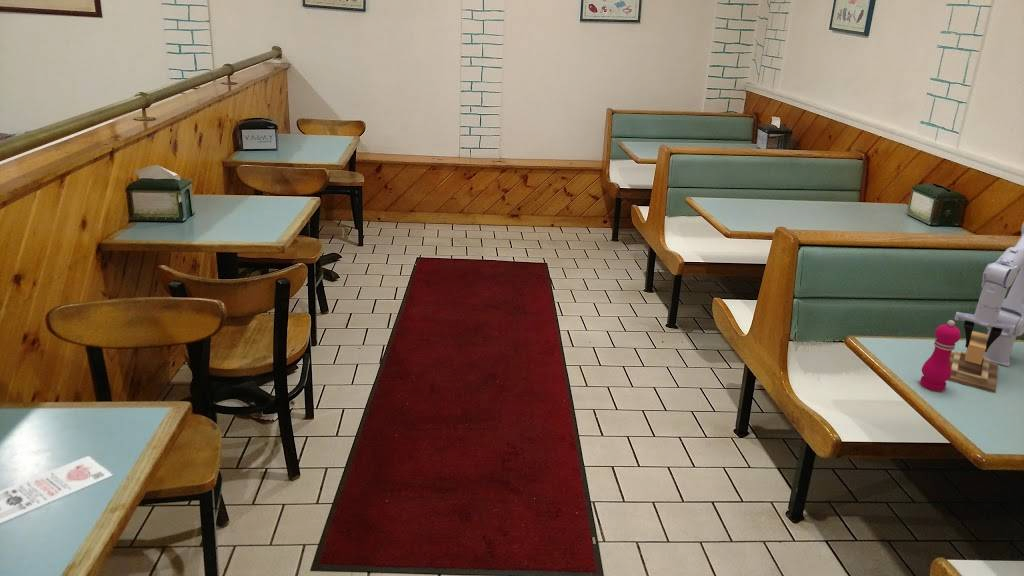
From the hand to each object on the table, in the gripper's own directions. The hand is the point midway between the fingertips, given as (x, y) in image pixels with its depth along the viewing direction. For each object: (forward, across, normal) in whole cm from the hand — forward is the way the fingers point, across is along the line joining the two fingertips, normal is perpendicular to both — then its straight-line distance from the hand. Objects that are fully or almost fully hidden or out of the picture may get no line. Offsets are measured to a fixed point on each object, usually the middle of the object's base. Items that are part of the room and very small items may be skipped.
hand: (975, 348), depth 218 cm
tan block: (+2, 0, 0) cm, 2 cm away
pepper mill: (+8, -8, -17) cm, 20 cm away
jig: (+8, 0, 0) cm, 8 cm away
